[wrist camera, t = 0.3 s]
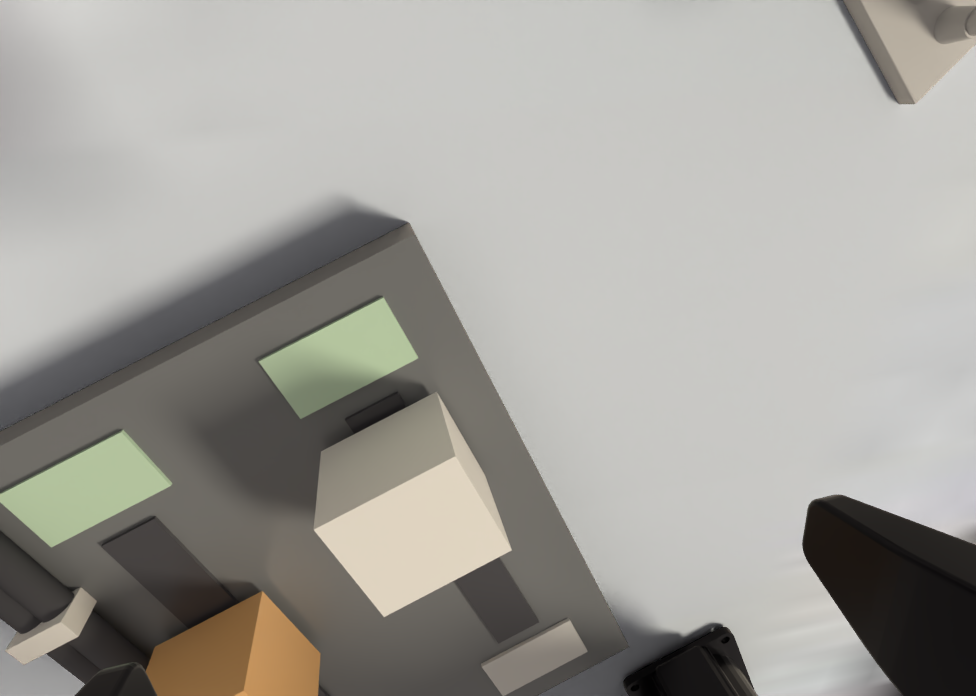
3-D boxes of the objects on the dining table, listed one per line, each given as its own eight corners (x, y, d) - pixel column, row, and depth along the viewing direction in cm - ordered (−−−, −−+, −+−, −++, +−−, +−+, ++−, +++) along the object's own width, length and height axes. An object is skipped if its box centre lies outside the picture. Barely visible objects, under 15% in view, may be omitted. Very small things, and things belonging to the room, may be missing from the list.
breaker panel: (612, 613, 29) (630, 649, 27) (294, 781, 29) (289, 829, 27) (408, 222, 20) (415, 235, 18) (-70, 467, 19) (-118, 507, 17)
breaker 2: (485, 475, 21) (512, 550, 18) (378, 530, 21) (383, 617, 18) (436, 391, 19) (455, 456, 16) (320, 451, 19) (313, 529, 16)
